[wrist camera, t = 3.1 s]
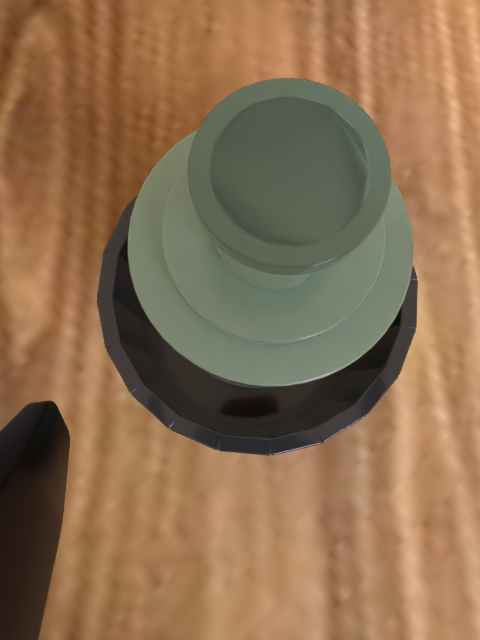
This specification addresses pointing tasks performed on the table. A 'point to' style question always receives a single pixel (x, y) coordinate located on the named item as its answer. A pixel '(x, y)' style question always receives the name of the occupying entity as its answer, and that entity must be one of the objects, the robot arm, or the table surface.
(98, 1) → the table surface
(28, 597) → the robot arm
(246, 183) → the bottle
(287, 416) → the cup
